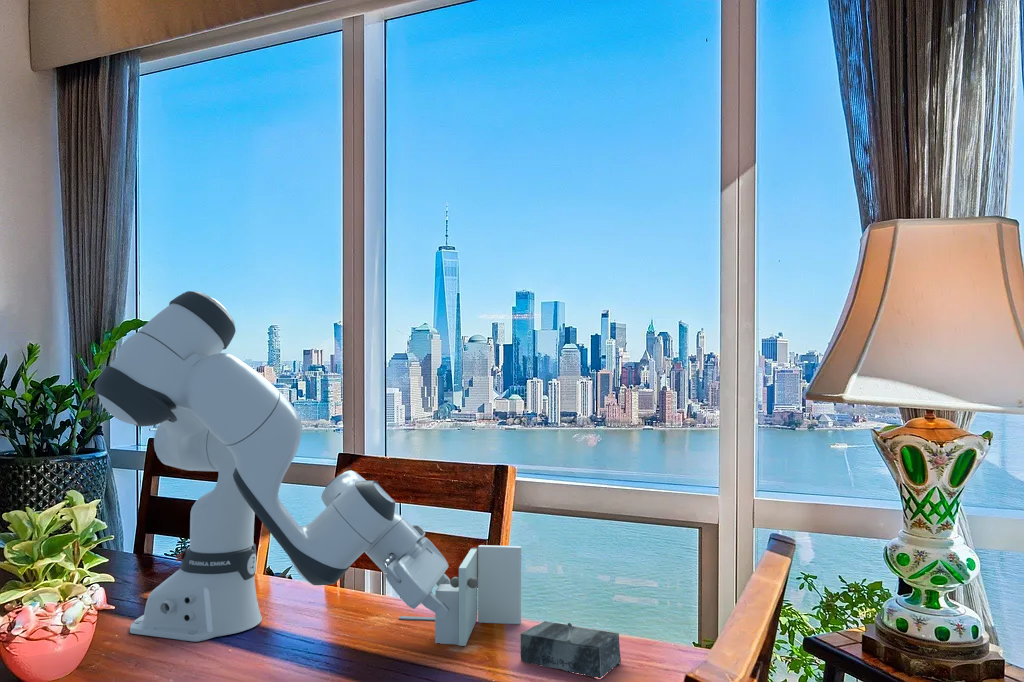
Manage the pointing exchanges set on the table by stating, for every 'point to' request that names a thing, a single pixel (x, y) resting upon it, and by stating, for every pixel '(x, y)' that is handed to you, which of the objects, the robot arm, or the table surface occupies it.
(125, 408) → the robot arm
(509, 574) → the wall
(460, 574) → the door
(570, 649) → the stone block
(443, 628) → the light grey block
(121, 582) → the table surface
